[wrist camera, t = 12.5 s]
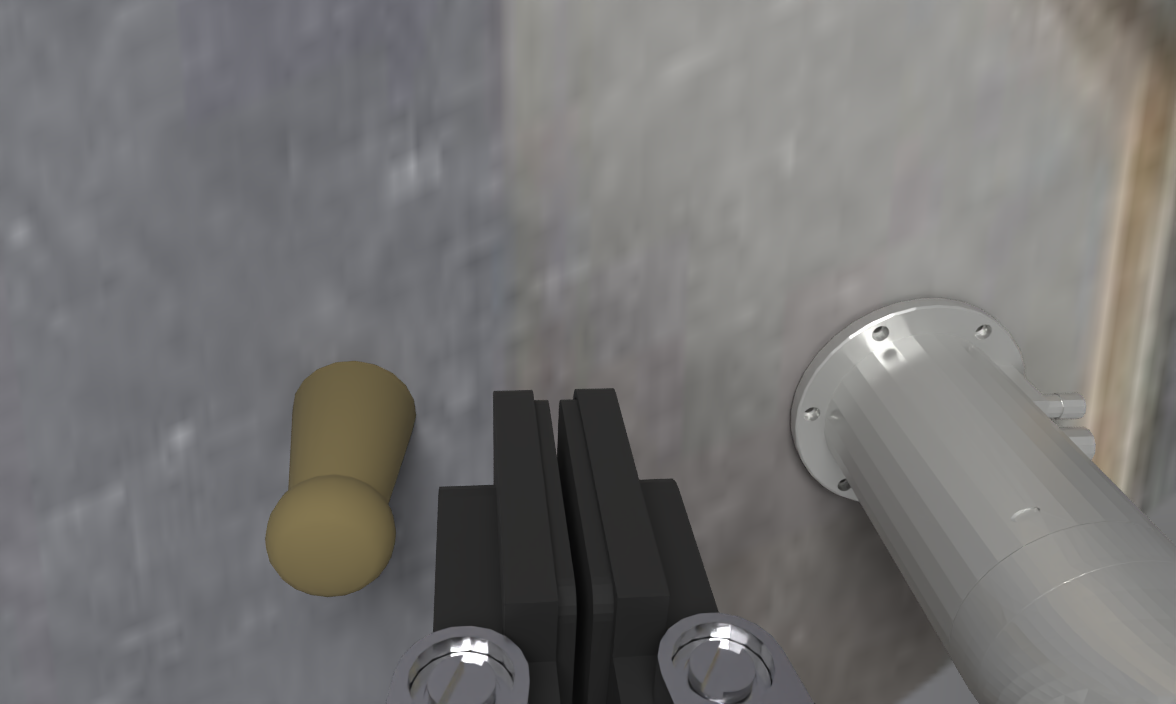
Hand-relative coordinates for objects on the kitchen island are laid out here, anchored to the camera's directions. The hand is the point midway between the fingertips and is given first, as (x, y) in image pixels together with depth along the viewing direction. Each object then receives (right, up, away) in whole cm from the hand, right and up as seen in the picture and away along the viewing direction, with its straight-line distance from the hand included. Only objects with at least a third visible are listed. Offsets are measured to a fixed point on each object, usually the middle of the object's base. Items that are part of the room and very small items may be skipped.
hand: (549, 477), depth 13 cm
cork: (-11, -1, +33) cm, 35 cm away
